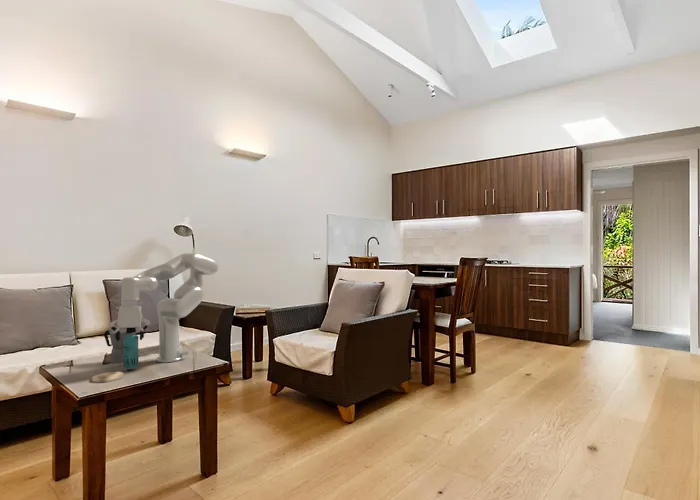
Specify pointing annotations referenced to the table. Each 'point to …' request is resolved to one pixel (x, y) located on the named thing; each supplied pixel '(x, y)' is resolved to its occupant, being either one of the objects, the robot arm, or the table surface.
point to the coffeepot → (116, 345)
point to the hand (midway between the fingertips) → (129, 340)
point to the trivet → (107, 377)
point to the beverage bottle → (130, 349)
